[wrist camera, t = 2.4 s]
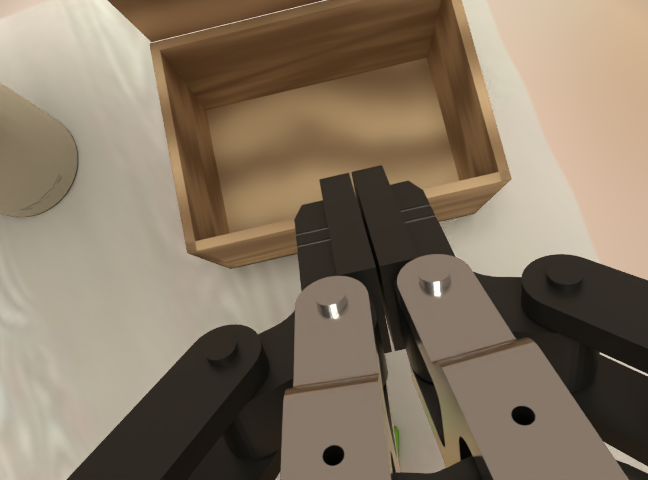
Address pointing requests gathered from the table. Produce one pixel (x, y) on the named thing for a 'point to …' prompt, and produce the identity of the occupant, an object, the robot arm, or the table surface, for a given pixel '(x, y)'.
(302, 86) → the brown wooden box
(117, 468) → the robot arm
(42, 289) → the table surface
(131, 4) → the flap
